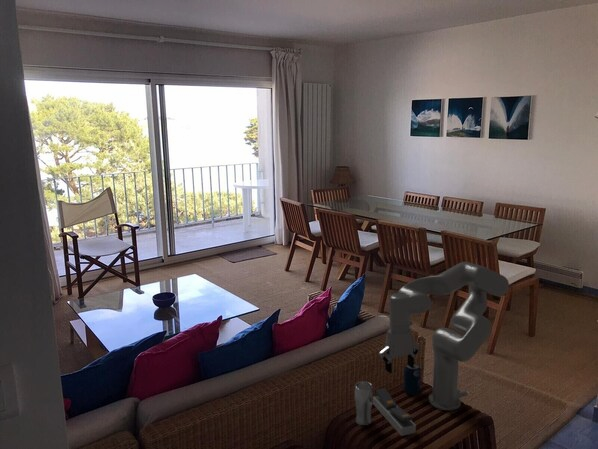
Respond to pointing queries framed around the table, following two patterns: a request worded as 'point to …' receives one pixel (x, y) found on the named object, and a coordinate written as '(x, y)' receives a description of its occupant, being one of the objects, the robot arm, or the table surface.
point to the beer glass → (363, 402)
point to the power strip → (394, 418)
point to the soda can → (412, 379)
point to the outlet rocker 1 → (386, 398)
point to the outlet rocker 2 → (401, 414)
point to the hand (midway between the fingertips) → (399, 369)
